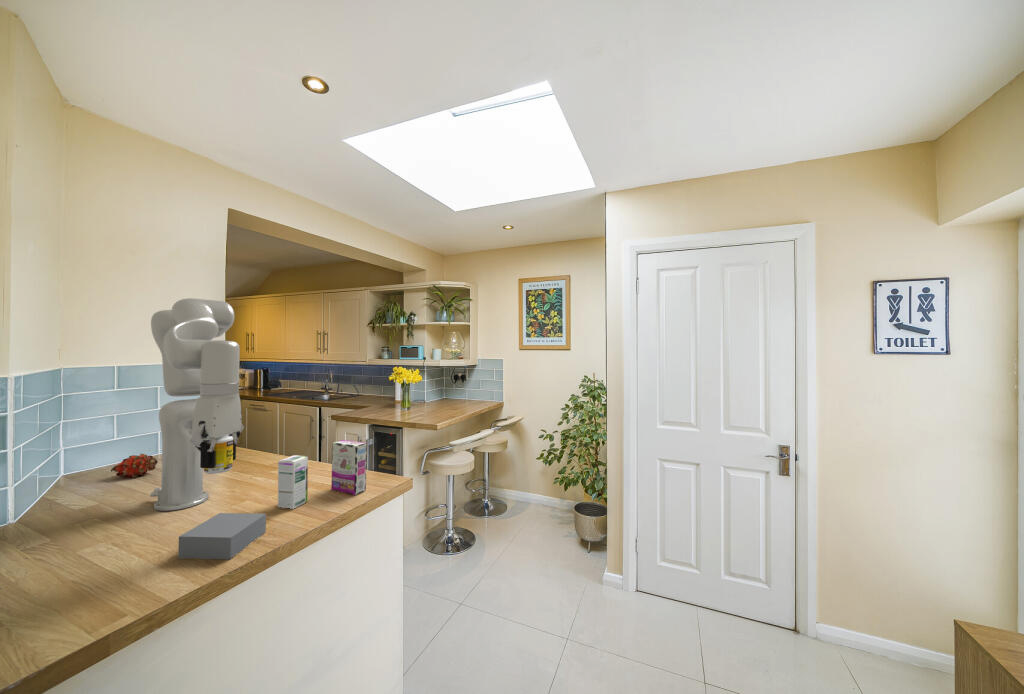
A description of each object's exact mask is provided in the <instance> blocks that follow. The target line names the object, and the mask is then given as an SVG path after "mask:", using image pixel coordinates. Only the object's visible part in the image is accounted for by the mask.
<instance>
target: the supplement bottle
mask: <svg viewBox="0 0 1024 694" xmlns="http://www.w3.org/2000/svg"><path fill="white" fill-rule="evenodd" d="M228 435H229V434H228ZM228 435H225V436H223V437H220V438H217V439H216V443H215V446H214V450H213V451H216V466H215V467H214V468H203V473H204V474H207V475H217V474H222V473H226V472H229V471H230V470H232V469H233V462H234V460H233V437H232V436H228ZM209 442H210V441H207V442H206V443H207V444H208V445H209Z"/></svg>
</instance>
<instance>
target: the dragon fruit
mask: <svg viewBox="0 0 1024 694" xmlns="http://www.w3.org/2000/svg"><path fill="white" fill-rule="evenodd" d="M158 463H159V462H158V460H157V459H156V457H153V455H147V454H145V453H140V454H139V455H136V454H135V455H129V456H128V458H123V460H122V461H121V462H120V463H117V464H116V465H115V466H113V467H112V468H111V469H110V472H115V476H117V477H120V478H125V477H126V478H130V477H132V478H133V479H134V478H136V477H138V476H145V475H146V474H147V472H149V471H151V472H152V471H154V470H155V469H156V465H157V464H158Z"/></svg>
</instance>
